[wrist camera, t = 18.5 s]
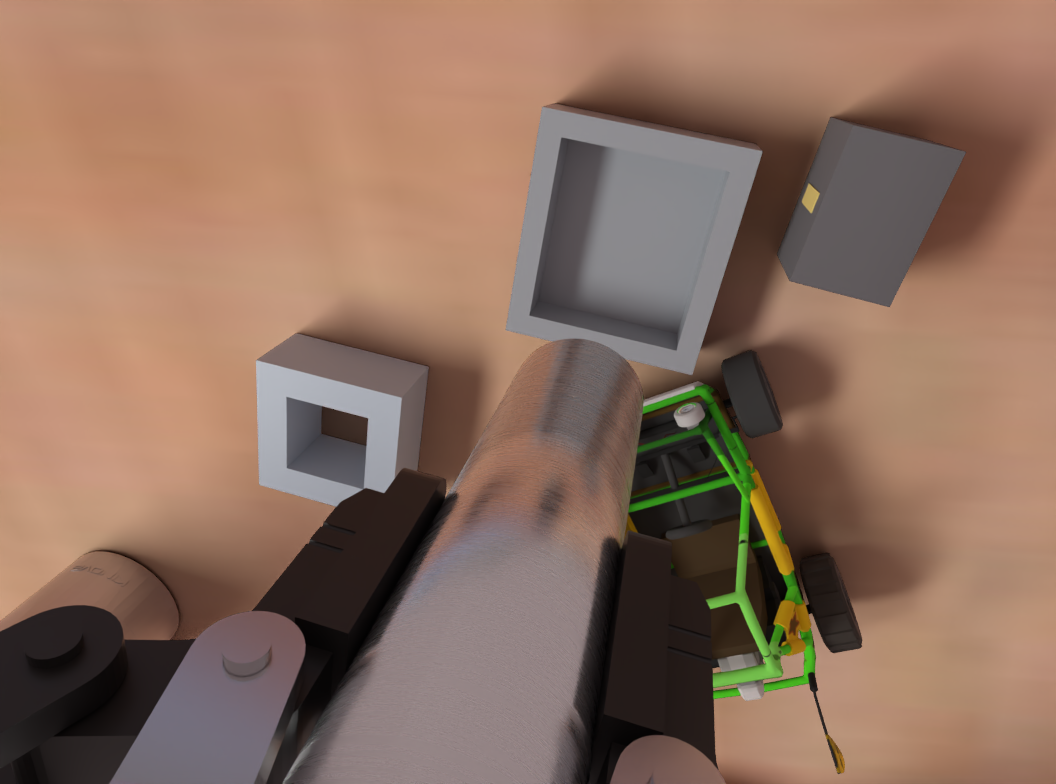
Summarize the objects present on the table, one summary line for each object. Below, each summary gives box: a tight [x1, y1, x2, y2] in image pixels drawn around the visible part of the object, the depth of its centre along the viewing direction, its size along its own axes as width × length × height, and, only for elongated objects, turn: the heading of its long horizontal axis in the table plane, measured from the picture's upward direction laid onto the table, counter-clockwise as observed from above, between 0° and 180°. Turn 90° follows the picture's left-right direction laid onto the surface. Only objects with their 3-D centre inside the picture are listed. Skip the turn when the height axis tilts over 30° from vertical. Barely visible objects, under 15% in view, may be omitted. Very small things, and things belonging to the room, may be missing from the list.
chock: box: [777, 117, 966, 307], centre depth 27 cm, size 4×6×4 cm
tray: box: [506, 103, 763, 375], centre depth 31 cm, size 10×9×3 cm
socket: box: [256, 333, 429, 507], centre depth 38 cm, size 8×8×4 cm
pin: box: [282, 338, 644, 784], centre depth 10 cm, size 3×3×14 cm
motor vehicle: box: [624, 350, 862, 774], centre depth 33 cm, size 12×19×11 cm, turn 27°
